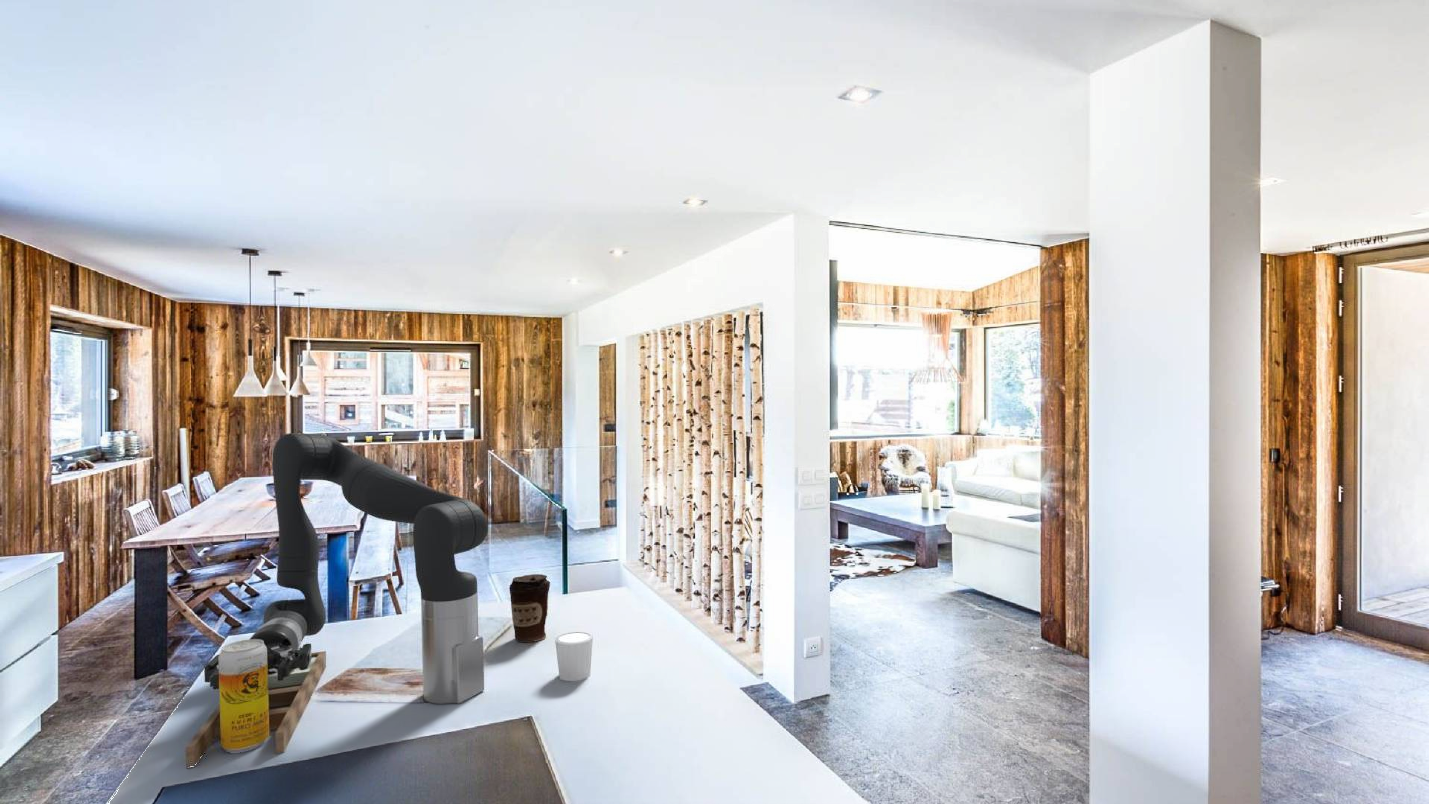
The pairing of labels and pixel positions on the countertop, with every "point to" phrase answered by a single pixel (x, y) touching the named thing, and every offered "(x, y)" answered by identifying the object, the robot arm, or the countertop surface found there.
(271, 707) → the brown wooden flat frame
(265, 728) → the beer can
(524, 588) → the coffee cup
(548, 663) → the countertop surface
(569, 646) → the white cup
